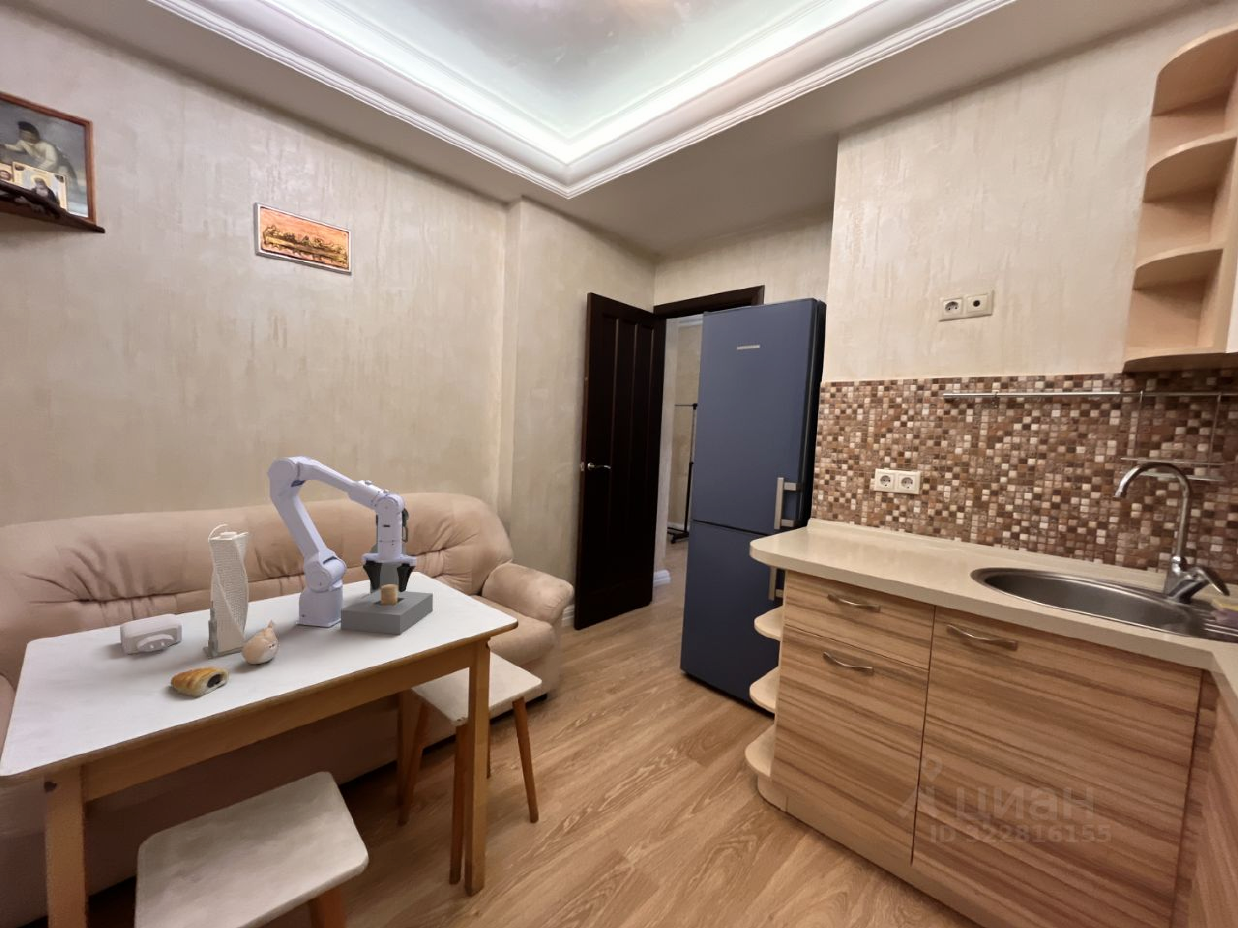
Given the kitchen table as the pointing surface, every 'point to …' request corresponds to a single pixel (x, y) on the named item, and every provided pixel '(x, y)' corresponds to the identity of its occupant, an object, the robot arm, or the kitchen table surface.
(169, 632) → the charger
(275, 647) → the beige rounded figure
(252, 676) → the kitchen table surface
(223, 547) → the skyscraper
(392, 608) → the socket block
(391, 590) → the peg
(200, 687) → the pastry
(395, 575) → the water bottle
